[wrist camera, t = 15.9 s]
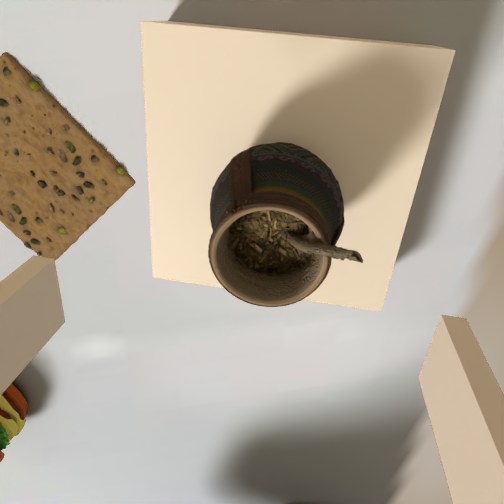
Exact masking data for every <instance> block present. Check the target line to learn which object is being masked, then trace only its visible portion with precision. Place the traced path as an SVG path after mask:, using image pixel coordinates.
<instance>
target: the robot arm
mask: <svg viewBox="0 0 504 504" xmlns="http://www.w3.org/2000/svg"><path fill="white" fill-rule="evenodd" d="M64 322H65V318H64V312H63V306H62V300H61V295H60V289H59V283H58V277H57V272H56V266H55V260H54V259H53V258H46V257H39V256H33V257H31V258H30V259H29V260H28V261H26V262H25V263H24V264H23V265H21V266H20V267H19V268H18V269H16V270H15V271H14V272H12V273H11V274H10V275H9V276H7V277H6V278H5V279H4V280H2V281H1V282H0V396H1V395H2V394H3V392H4V391H5V390H6V389H7V388H8V387H9V386H10V384H11V383H12V382H13V381H14V380H15V379H16V377H17V376H18V375H19V374H20V373H21V372H22V371H23V369H24V368H25V367H26V366H27V365H28V364H29V363H30V361H31V360H32V359H33V358H34V357H35V356H36V354H37V353H38V352H39V351H40V350H41V349H42V348H43V346H44V345H45V344H46V343H47V342H48V341H49V340H50V338H51V337H52V336H53V335H54V334H55V333H56V331H57V330H58V329H59V328H60V327H61V326H62V325H63V323H64ZM418 378H419V382H420V385H421V389H422V393H423V396H424V400H425V404H426V407H427V411H428V415H429V418H430V422H431V426H432V429H433V433H434V436H435V440H436V444H437V447H438V451H439V454H440V458H441V462H442V465H443V469H444V473H445V477H446V480H447V484H448V487H449V491H450V495H451V498H452V502H453V504H504V395H503V392H502V391H501V388H500V387H499V385H498V382H497V380H496V378H495V376H494V374H493V372H492V370H491V368H490V367H489V364H488V362H487V360H486V358H485V356H484V354H483V352H482V350H481V348H480V346H479V344H478V342H477V340H476V338H475V336H474V334H473V332H472V330H471V328H470V326H469V323H468V321H467V319H466V318H459V317H453V316H446V315H441V317H440V320H439V323H438V325H437V328H436V331H435V333H434V336H433V339H432V342H431V344H430V347H429V350H428V353H427V355H426V358H425V361H424V364H423V366H422V369H421V372H420V375H419V377H418Z"/></svg>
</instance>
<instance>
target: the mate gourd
mask: <svg viewBox="0 0 504 504" xmlns="http://www.w3.org/2000/svg"><path fill="white" fill-rule="evenodd" d="M343 202H344V201H343V197H342V193H341V189H340V186H339V182H338V180H336V178H335V176H334V174H333V173H332V171H331V169H330V168H329V167H328V166H327V165H326V164H325V163H324V162H323V161H322V160H321V159H320V158H318V157H317V155H315V154H313V153H312V152H310V151H308V150H307V149H305V148H303V147H301V146H298V145H295V144H292V143H284V142H276V143H270V144H268V143H267V144H261V145H256V146H253V147H250V148H248V149H247V150H245V151H242V152H240V153H238V154H237V155H236V156H234V157H233V158H232V159H231V160H230V163H229V164H228V165H227V166H226V168H225V169H224V170H223V171H222V173H221V174H220V175H219V177H218V178H217V180H216V182H215V185H214V186H213V188H212V192H211V200H210V220H211V227H212V230H213V232H212V235H211V238H210V240H209V242H210V243H209V245H208V247H209V249H208V257H209V263H210V265H211V269H212V271H213V274H214V275H215V277H216V279H217V280H218V282H219V283H220V284H221V285H222V286H223V287H224V288H225V289H226V290H227V291H228V292H229V293H231V294H232V295H234V296H235V297H237V298H239V299H240V300H242V301H245V302H247V303H250V304H254V305H258V306H267V307H278V306H286V305H289V304H293V303H296V302H298V301H301V300H302V299H304V298H306V297H308V296H309V295H310V294H312V293H313V292H314V291H315V290H316V289H317V288H318V287H319V286H320V285H321V284H322V282H323V281H324V280H325V278H326V277H327V274H328V272H329V269H330V266H331V260H332V258H334V259H339V258H340V259H341V260H343V261H344V259H346V258H347V259H349V260H350V261H351V260H353V261H357V262H361V263H363V259H362V257H361V255H360V253H359V252H357V251H354V250H347V249H344V248H342V247H337V246H335V245H336V243H337V241H338V239H339V237H340V235H341V233H342V230H343V227H344V223H345V222H344V221H345V220H344V203H343Z"/></svg>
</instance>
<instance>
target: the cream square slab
mask: <svg viewBox="0 0 504 504" xmlns="http://www.w3.org/2000/svg"><path fill="white" fill-rule="evenodd" d="M141 41H142V62H143V83H144V104H145V125H146V146H147V167H148V188H149V209H150V230H151V251H152V272H153V277H154V278H161V279H168V280H174V281H181V282H188V283H194V284H201V285H208V286H214V287H221V288H224V287H223V286H222V285H221V284H220V283H219V282H218V280H217V279H216V277H215V275H214V274H213V271H212V269H211V265H210V263H209V257H208V249H209V247H208V245H209V243H210V242H209V240H210V238H211V235H212V232H213V230H212V227H211V220H210V200H211V192H212V188H213V186H214V185H215V182H216V180H217V178H218V177H219V175H220V174H221V173H222V171H223V170H224V169H225V168H226V166H227V165H228V164H229V163H230V160H231V159H232V158H233V157H234V156H236V155H237V154H238V153H240V152H242V151H245V150H247V149H248V148H250V147H253V146H256V145H261V144H267V143H268V144H270V143H276V142H284V143H292V144H295V145H298V146H301V147H303V148H305V149H307V150H308V151H310V152H312V153H313V154H315V155H317V157H318V158H320V159H321V160H322V161H323V162H324V163H325V164H326V165H327V166H328V167H329V168H330V169H331V171H332V173H333V174H334V176H335V178H336V180H338V182H339V186H340V189H341V193H342V197H343V201H344V202H343V203H344V220H345V221H344V222H345V223H344V227H343V230H342V233H341V235H340V237H339V239H338V241H337V243H336V245H335V246H337V247H342V248H344V249H347V250H354V251H357V252H359V253H360V255H361V257H362V259H363V263H361V262H357V261H353V260H351V261H350V260H349V259H347V258H346V259H344V261H343V260H341V259H340V258H339V259H334V258H332V260H331V266H330V269H329V272H328V274H327V277H326V278H325V280H324V281H323V282H322V284H321V285H320V286H319V287H318V288H317V289H316V290H315V291H314V292H313V293H312V294H310V295H309V296H308V297H306V298H304V299H302V300H307V301H314V302H320V303H327V304H334V305H340V306H347V307H354V308H360V309H367V310H374V311H380V312H381V310H382V307H383V303H384V300H385V296H386V293H387V289H388V286H389V282H390V279H391V275H392V272H393V268H394V265H395V261H396V258H397V254H398V251H399V247H400V244H401V240H402V237H403V233H404V230H405V226H406V223H407V219H408V216H409V212H410V209H411V205H412V202H413V198H414V195H415V191H416V188H417V184H418V181H419V177H420V174H421V170H422V167H423V163H424V160H425V156H426V153H427V149H428V146H429V142H430V139H431V135H432V132H433V128H434V125H435V121H436V118H437V114H438V111H439V107H440V104H441V100H442V97H443V93H444V90H445V86H446V83H447V79H448V76H449V72H450V69H451V65H452V62H453V58H454V55H455V51H456V50H452V49H448V48H444V47H440V46H435V45H425V44H415V43H404V42H393V41H382V40H371V39H360V38H349V37H338V36H327V35H316V34H305V33H294V32H283V31H272V30H261V29H251V28H240V27H229V26H218V25H207V24H196V23H185V22H174V21H141Z"/></svg>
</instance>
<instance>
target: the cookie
mask: <svg viewBox="0 0 504 504" xmlns="http://www.w3.org/2000/svg"><path fill="white" fill-rule="evenodd" d="M134 184H135V181H134V180H133V179H132V178H131V177H130V176H129V174H128V173H127V172H126V171H125V169H124V168H123V167H122V166H121V165H119V164H118V163H117V162H116V161H115V160H114V159H113V158H112V156H111V155H109V154H108V153H107V152H106V150H105V149H104V148H103V147H102V146H100V145H99V144H98V143H97V142H96V141H95V140H94V139H93V138H92V137H91V136H90V135H89V134H88V133H87V132H86V131H85V130H84V129H83V127H82V126H81V125H79V124H78V123H77V122H76V121H75V120H74V119H73V118H72V117H71V116H70V115H69V114H68V113H67V112H66V110H65V109H63V108H62V107H61V106H60V104H59V103H58V102H57V101H55V100H54V99H53V98H52V97H51V96H50V95H49V94H48V93H47V92H46V91H45V90H44V89H43V88H42V87H41V85H40V84H39V83H38V82H37V81H35V80H34V79H33V78H32V77H31V76H30V75H29V74H28V73H27V72H26V70H25V69H24V68H23V67H21V66H20V65H19V63H18V62H17V61H16V60H15V59H14V58H13V57H12V56H10V55H9V54H8V53H3V54H2V56H0V221H1V222H2V223H3V224H4V225H5V226H6V227H7V228H8V229H10V230H11V231H12V232H13V233H14V234H15V235H16V236H17V237H18V238H19V239H21V240H22V242H23V243H24V245H25V246H26V247H27V248H30V249H32V250H34V251H35V252H36V253H37V255H38V256H42V257H46V258H53V259H54V260H56V259H57V258H59V257H60V256H61V255H62V254H63V253H64V252H65V251H66V250H67V249H68V248H69V247H70V246H71V245H72V244H73V243H75V242H76V241H77V240H78V238H79V237H80V236H81V235H82V234H83V233H84V232H85V231H86V230H88V228H89V227H90V226H91V225H92V224H93V223H94V222H96V221H97V220H98V219H99V217H100V216H102V215H103V214H104V213H105V212H106V211H107V209H108V208H109V207H110V206H112V205H113V204H114V202H116V201H117V200H118V199H119V198H120V197H121V196H122V195H123V194H124V193H125V192H126V191H127V190H128V189H129V188H130V187H132V186H133V185H134Z"/></svg>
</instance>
